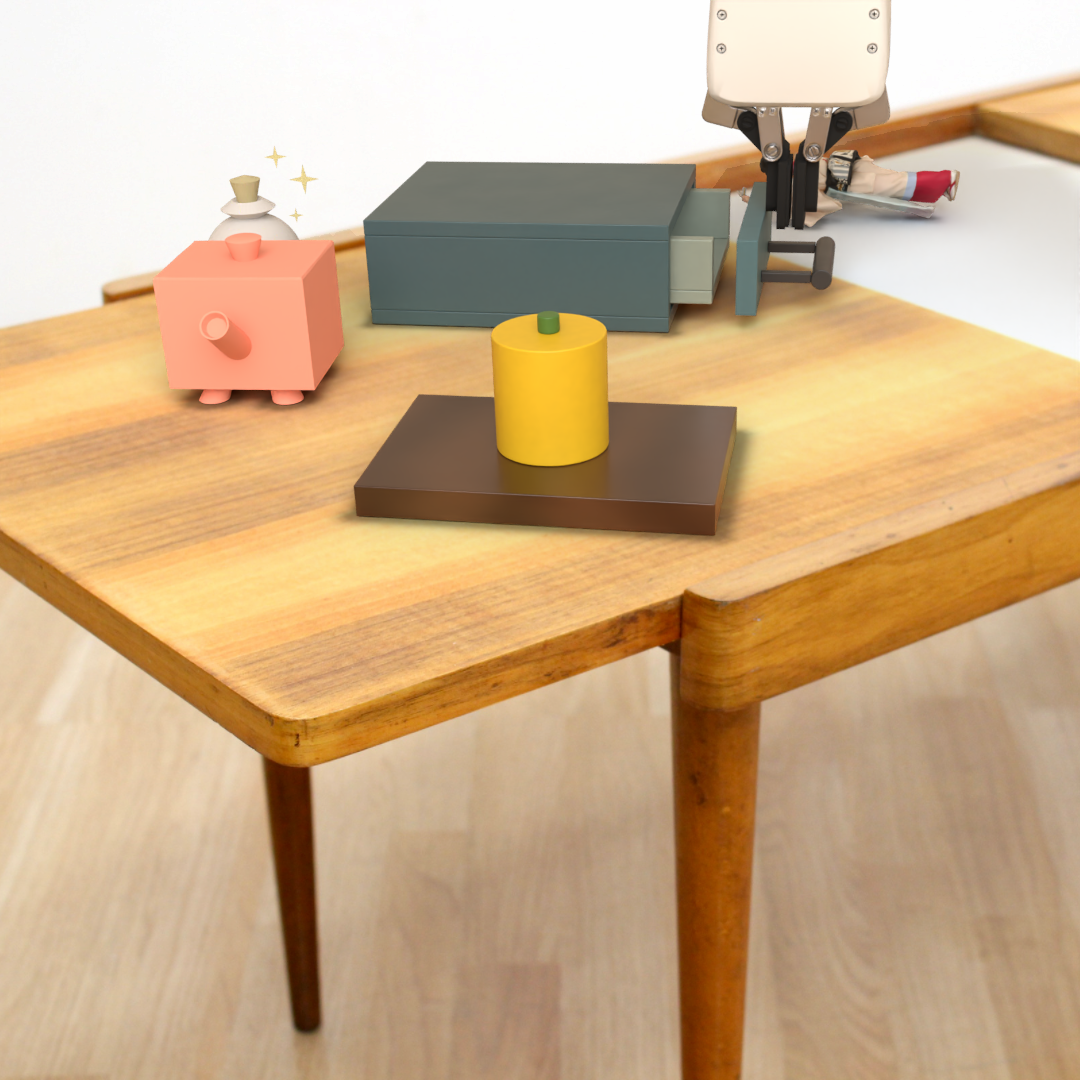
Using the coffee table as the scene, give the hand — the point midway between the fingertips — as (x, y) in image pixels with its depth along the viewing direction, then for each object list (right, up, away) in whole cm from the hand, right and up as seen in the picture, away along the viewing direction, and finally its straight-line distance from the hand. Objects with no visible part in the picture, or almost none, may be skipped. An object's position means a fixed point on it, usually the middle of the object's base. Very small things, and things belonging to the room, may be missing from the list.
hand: (791, 222), depth 92 cm
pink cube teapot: (-30, -11, -8) cm, 33 cm away
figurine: (+7, +5, +19) cm, 21 cm away
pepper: (-14, -14, -20) cm, 29 cm away
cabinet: (-15, -3, +5) cm, 16 cm away
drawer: (-7, -3, +3) cm, 9 cm away
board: (-14, -16, -20) cm, 29 cm away
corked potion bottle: (-32, -5, +4) cm, 32 cm away
